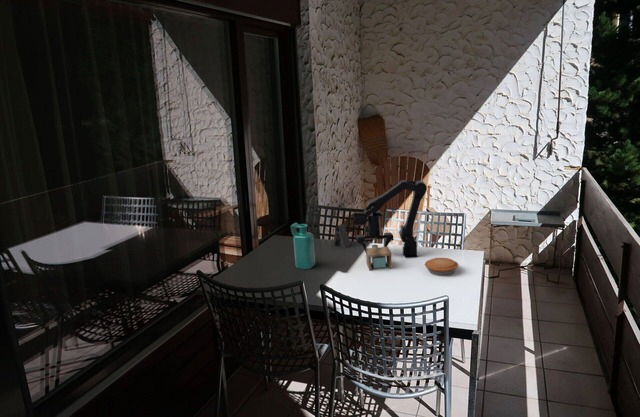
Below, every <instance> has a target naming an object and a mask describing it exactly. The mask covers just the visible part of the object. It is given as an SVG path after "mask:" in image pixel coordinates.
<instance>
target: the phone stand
mask: <svg viewBox="0 0 640 417" xmlns="http://www.w3.org/2000/svg"><path fill="white" fill-rule="evenodd" d="M334 228H335V229H334V230H335V234H334V237H333V241H332V244H331V247H332V248H333V247H334V248H340V249H347V248H348V247H351V245H352V244H351V243H352V242H351V241H350V237H349V235H348V232H347V228H346V224H344V223H341V224H339V225H337V226H336V227H334Z"/></svg>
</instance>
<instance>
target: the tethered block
mask: <svg viewBox="0 0 640 417" xmlns="http://www.w3.org/2000/svg"><path fill="white" fill-rule="evenodd" d="M371 248H379V246H378V244H373V245H371ZM386 264H387V260H386V256H376V257H371V266H372V268H373V269H378V268H379V269H380V268H387V265H386Z"/></svg>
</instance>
